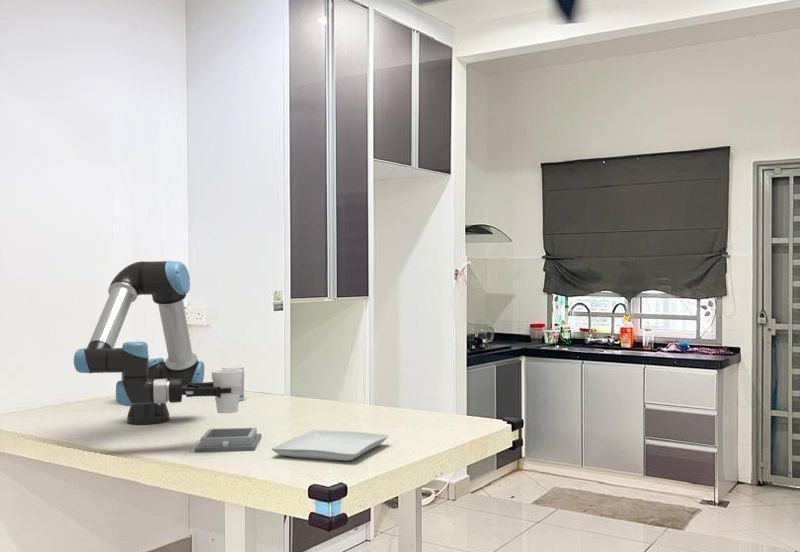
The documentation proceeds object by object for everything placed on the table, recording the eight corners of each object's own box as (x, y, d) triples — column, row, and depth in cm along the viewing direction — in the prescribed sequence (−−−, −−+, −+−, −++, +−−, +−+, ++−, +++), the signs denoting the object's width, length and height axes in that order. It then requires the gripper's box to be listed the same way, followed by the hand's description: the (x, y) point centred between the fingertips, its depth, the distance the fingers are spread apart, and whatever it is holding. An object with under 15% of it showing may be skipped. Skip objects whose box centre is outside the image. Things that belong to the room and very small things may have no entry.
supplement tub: (225, 403, 326) (225, 368, 326) (218, 400, 334) (218, 366, 334) (247, 400, 331) (246, 367, 331) (240, 398, 339) (239, 365, 339)
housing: (206, 438, 252) (206, 427, 252) (261, 437, 253) (261, 426, 253) (194, 452, 232) (194, 440, 232) (254, 450, 233) (254, 438, 233)
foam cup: (247, 409, 245) (247, 369, 245) (233, 414, 236) (233, 373, 237) (221, 408, 248) (221, 369, 248) (206, 413, 239) (206, 372, 239)
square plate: (313, 440, 249) (313, 428, 249) (390, 446, 239) (390, 433, 239) (270, 459, 223) (270, 445, 223) (354, 466, 213) (354, 452, 213)
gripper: (170, 397, 249) (240, 394, 254) (166, 408, 227) (242, 404, 233) (170, 374, 249) (240, 371, 254) (166, 383, 227) (242, 380, 233)
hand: (241, 387), depth 243 cm, fingers closed on foam cup, 9 cm apart
